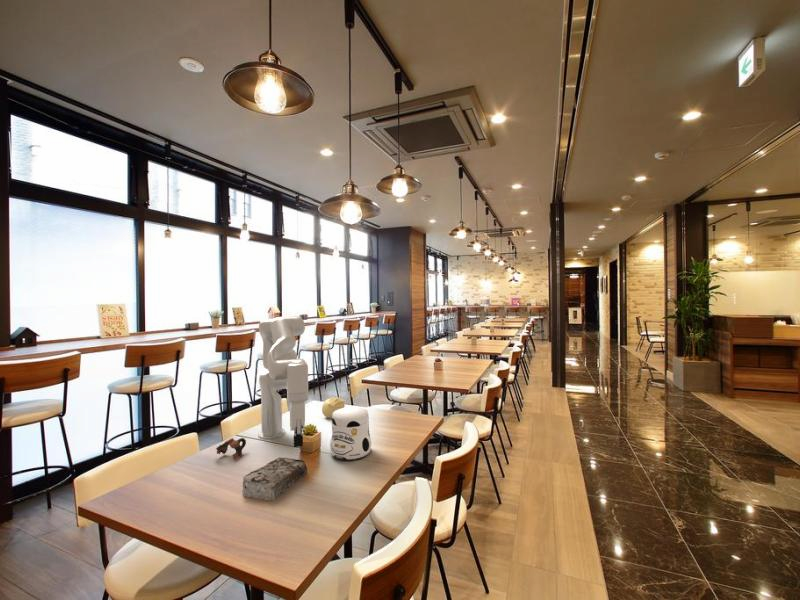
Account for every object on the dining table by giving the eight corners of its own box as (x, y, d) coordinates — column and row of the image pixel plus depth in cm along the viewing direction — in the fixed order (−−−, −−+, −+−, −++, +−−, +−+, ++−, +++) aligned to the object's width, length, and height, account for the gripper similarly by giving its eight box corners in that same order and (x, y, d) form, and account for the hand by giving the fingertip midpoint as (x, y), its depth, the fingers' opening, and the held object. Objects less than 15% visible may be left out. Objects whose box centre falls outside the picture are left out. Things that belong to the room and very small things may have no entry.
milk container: (330, 466, 138) (329, 421, 138) (329, 448, 155) (329, 407, 155) (373, 461, 142) (373, 417, 142) (368, 444, 158) (368, 405, 158)
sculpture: (334, 421, 189) (334, 401, 189) (317, 417, 195) (317, 398, 195) (347, 415, 199) (347, 396, 199) (331, 412, 205) (331, 393, 205)
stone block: (278, 473, 136) (240, 499, 117) (278, 454, 136) (239, 477, 117) (308, 475, 132) (273, 503, 112) (307, 456, 132) (273, 480, 113)
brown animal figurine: (229, 464, 141) (219, 446, 141) (219, 469, 146) (209, 451, 146) (254, 446, 151) (245, 430, 151) (243, 451, 156) (234, 435, 156)
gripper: (286, 392, 135) (287, 439, 135) (287, 403, 120) (288, 456, 120) (306, 390, 137) (307, 437, 137) (310, 400, 123) (310, 452, 123)
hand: (298, 445), depth 129 cm, fingers closed
